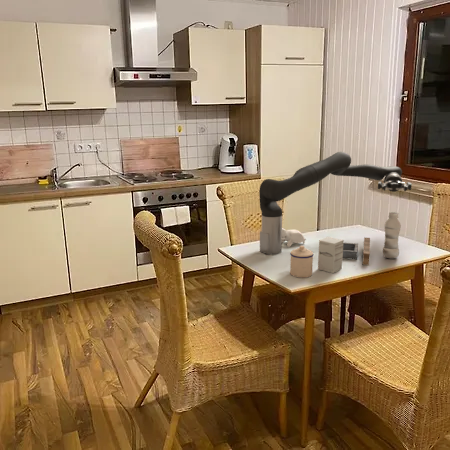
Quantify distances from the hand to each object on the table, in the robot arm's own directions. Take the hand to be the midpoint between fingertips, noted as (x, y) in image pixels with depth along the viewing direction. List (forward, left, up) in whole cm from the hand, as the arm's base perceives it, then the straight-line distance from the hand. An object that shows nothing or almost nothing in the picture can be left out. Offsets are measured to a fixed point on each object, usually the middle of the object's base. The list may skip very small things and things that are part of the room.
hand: (394, 188), depth 199 cm
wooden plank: (-15, +1, -29) cm, 32 cm away
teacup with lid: (-53, +2, -29) cm, 60 cm away
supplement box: (-40, -2, -29) cm, 49 cm away
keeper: (-21, +9, -29) cm, 37 cm away
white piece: (-30, +35, -29) cm, 54 cm away
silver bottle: (-8, -6, -29) cm, 31 cm away
